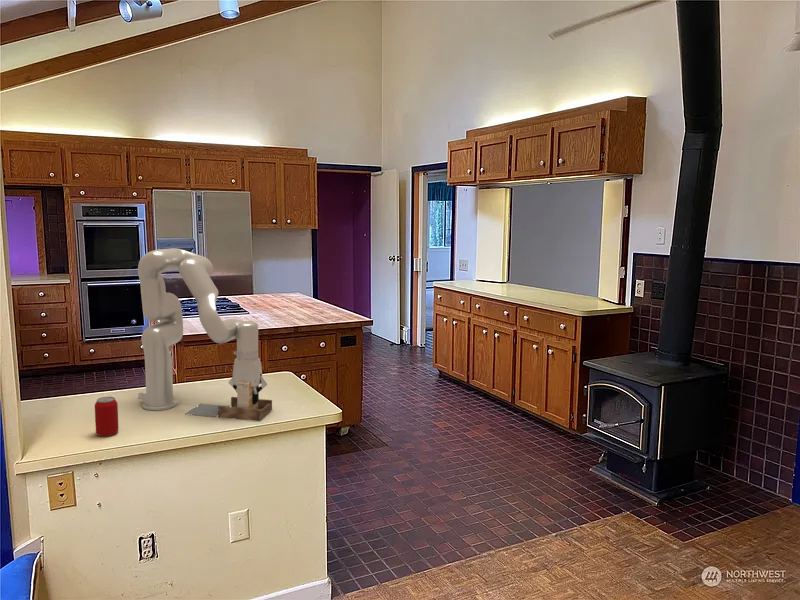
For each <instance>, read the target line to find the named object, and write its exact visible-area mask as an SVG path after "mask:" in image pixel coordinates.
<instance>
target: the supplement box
mask: <svg viewBox="0 0 800 600" xmlns="http://www.w3.org/2000/svg"><path fill="white" fill-rule="evenodd" d="M236 394H237V396H236V397H237V407H238V408H250V409H258V402H257V403H256V404H255V405H253V394H254V391H253V387H250V383H249V382H237V392H236Z"/></svg>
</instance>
